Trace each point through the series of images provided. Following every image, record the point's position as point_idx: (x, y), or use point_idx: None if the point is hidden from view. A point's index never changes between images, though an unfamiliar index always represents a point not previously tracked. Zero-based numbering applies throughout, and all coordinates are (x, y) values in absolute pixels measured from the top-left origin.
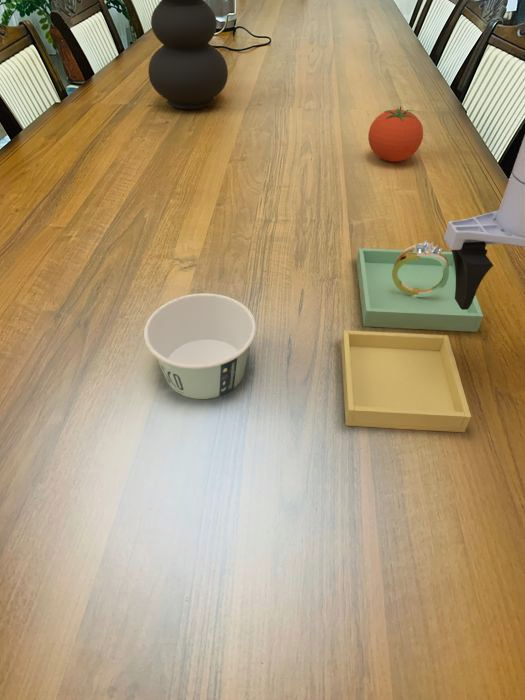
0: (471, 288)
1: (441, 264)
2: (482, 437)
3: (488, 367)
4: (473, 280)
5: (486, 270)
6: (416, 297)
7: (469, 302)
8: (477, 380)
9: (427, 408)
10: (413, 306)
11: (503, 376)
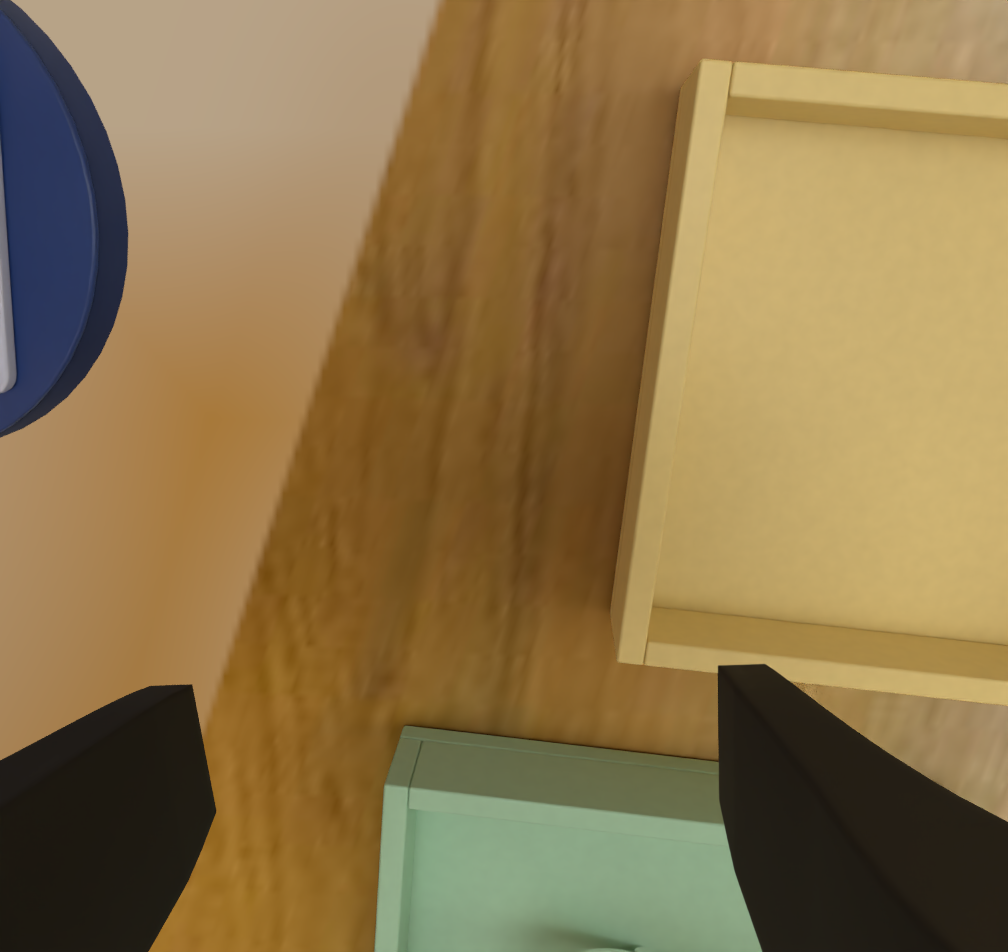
0: (878, 772)
1: None
2: (599, 56)
3: (423, 503)
4: (973, 837)
5: (989, 943)
6: (637, 949)
7: (761, 691)
8: (502, 423)
9: (832, 222)
10: (669, 894)
11: (371, 444)
